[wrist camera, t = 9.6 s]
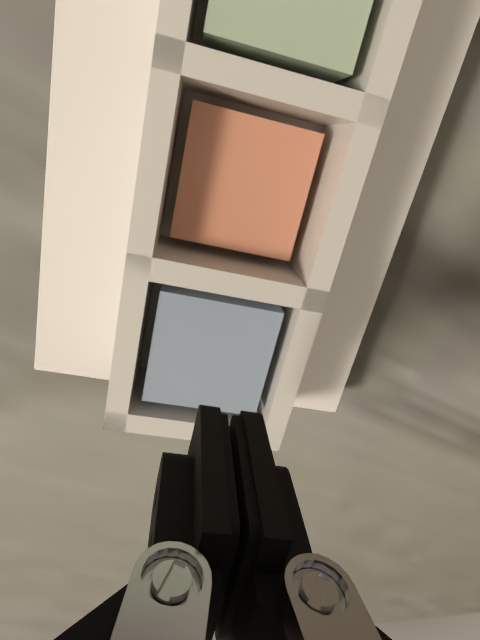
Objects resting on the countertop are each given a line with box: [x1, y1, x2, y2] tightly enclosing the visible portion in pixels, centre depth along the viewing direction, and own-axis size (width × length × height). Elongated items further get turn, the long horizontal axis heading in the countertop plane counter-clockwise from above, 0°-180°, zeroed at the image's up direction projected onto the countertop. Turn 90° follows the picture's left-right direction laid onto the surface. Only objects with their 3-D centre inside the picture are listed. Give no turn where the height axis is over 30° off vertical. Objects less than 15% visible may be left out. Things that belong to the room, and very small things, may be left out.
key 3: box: [170, 100, 325, 261], centre depth 15 cm, size 4×4×2 cm
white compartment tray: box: [34, 0, 480, 451], centre depth 15 cm, size 25×14×6 cm, turn 167°
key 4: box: [142, 284, 284, 414], centre depth 16 cm, size 4×4×2 cm
